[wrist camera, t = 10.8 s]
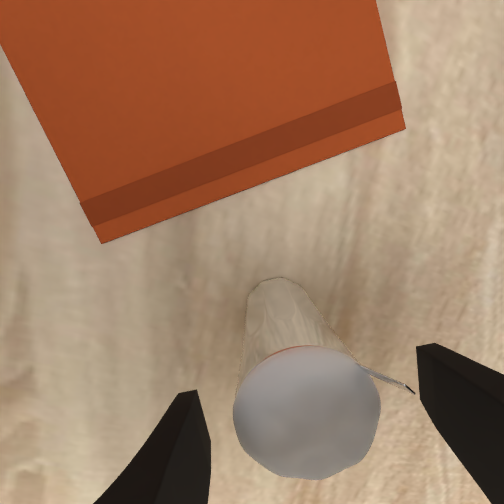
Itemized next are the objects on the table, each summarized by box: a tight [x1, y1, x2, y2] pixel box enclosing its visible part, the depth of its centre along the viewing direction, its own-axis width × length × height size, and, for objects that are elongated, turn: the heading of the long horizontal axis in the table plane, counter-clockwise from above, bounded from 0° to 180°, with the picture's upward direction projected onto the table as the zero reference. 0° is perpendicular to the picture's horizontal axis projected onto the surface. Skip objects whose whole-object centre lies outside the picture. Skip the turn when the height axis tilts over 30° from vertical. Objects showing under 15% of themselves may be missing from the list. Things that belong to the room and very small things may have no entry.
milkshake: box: [233, 277, 415, 480], centre depth 14 cm, size 4×5×10 cm
